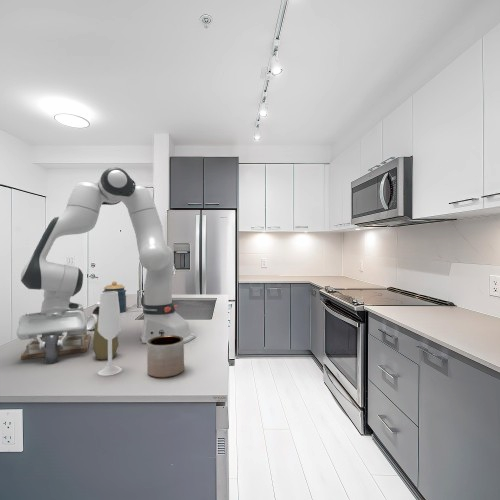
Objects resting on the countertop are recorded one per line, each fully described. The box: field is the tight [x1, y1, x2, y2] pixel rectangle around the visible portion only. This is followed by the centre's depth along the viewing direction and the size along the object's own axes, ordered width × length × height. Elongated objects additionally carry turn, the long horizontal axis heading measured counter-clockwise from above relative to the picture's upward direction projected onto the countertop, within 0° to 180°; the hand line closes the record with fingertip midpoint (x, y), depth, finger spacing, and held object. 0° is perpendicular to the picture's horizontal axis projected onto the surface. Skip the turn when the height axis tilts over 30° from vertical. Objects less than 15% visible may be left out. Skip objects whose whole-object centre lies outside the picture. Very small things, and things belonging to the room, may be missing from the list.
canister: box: [102, 281, 128, 314], centre depth 185 cm, size 13×13×18 cm
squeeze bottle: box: [92, 316, 119, 360], centre depth 109 cm, size 8×8×18 cm
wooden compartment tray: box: [20, 330, 92, 360], centre depth 120 cm, size 20×20×10 cm
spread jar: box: [86, 301, 100, 331], centre depth 148 cm, size 12×11×12 cm
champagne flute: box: [97, 291, 123, 377], centre depth 97 cm, size 7×7×24 cm
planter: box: [146, 335, 185, 379], centre depth 96 cm, size 11×11×10 cm
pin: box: [44, 333, 59, 365], centre depth 104 cm, size 4×4×9 cm
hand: (51, 347), depth 104 cm, fingers closed on pin, 4 cm apart
